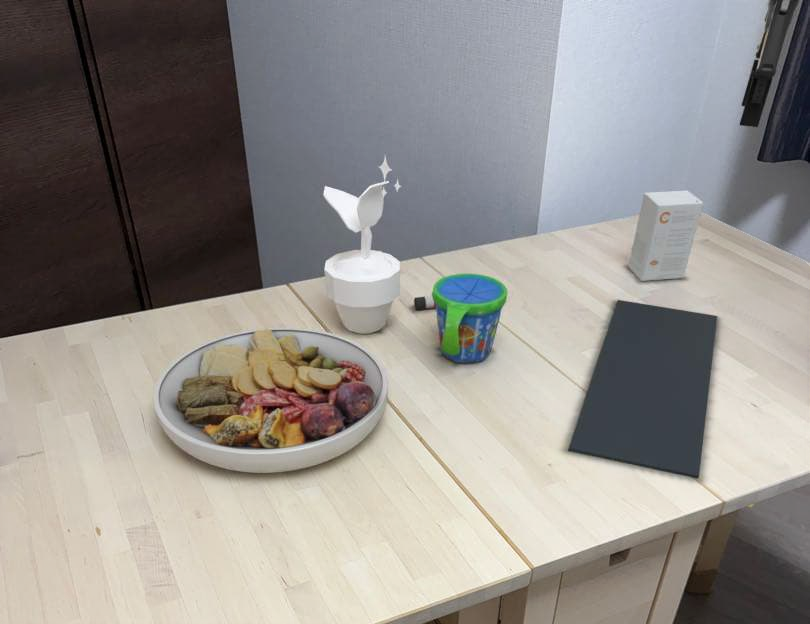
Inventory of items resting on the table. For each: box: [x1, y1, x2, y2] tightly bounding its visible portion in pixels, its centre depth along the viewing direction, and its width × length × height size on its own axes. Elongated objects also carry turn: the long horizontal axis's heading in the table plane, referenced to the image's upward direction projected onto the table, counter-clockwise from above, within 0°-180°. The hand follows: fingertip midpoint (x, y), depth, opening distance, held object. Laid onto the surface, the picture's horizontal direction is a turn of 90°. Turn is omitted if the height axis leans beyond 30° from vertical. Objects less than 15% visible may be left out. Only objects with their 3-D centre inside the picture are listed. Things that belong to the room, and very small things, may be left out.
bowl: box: [152, 326, 389, 474], centre depth 97 cm, size 30×30×8 cm
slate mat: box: [567, 299, 718, 480], centre depth 107 cm, size 16×44×1 cm, turn 160°
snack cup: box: [431, 273, 509, 364], centre depth 109 cm, size 16×10×10 cm
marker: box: [413, 295, 436, 311], centre depth 123 cm, size 15×2×2 cm, turn 104°
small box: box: [628, 189, 704, 282], centre depth 129 cm, size 8×6×13 cm
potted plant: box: [323, 154, 403, 334], centre depth 109 cm, size 13×12×25 cm
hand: (749, 115), depth 120 cm, fingers open, 11 cm apart
